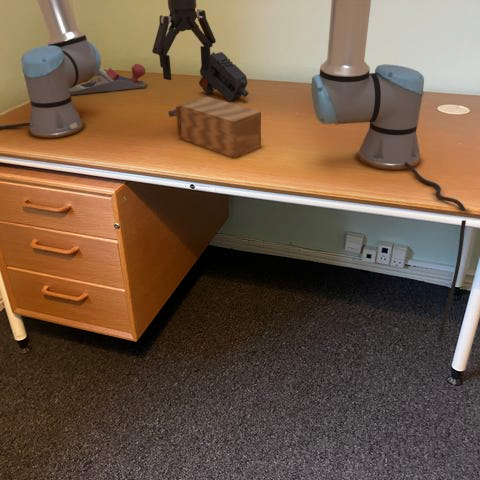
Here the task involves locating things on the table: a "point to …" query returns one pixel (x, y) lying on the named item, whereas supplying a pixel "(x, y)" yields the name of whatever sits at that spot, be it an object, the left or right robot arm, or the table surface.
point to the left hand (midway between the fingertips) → (187, 74)
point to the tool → (223, 77)
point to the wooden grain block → (221, 126)
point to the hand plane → (111, 81)
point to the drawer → (177, 114)
